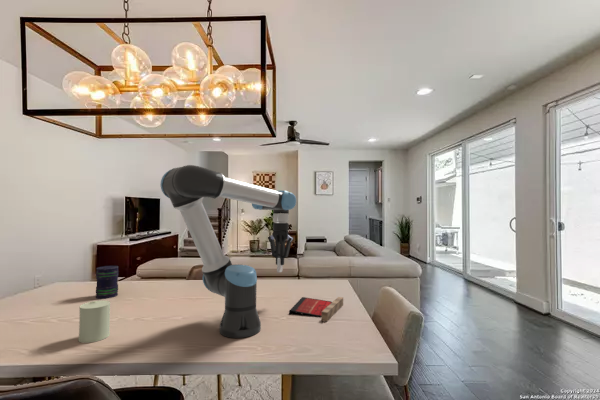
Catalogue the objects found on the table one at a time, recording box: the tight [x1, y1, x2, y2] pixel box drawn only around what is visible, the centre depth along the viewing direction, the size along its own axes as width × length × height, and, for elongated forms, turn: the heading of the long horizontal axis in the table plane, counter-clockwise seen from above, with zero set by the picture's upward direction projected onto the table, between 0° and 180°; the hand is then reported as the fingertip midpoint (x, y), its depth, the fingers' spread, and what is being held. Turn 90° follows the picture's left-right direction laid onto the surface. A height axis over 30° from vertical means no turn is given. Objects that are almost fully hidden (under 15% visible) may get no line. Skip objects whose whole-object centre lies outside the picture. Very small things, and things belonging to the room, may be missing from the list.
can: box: [78, 300, 111, 344], centre depth 106 cm, size 9×9×12 cm
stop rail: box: [321, 296, 344, 322], centre depth 133 cm, size 23×2×4 cm, turn 155°
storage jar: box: [95, 265, 120, 300], centre depth 156 cm, size 10×10×15 cm
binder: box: [288, 296, 333, 318], centre depth 138 cm, size 16×2×21 cm
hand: (279, 271), depth 144 cm, fingers closed
